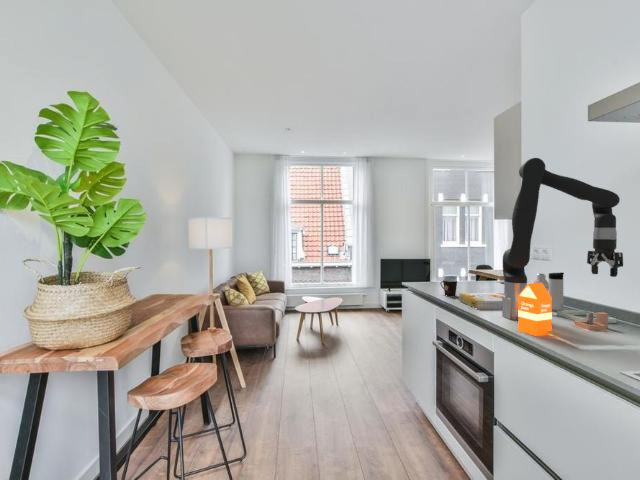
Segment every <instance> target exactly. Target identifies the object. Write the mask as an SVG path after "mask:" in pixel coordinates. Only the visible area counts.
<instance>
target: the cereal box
mask: <svg viewBox="0 0 640 480" xmlns="http://www.w3.org/2000/svg"><path fill="white" fill-rule="evenodd" d="M458 294H459V298H458V300H459V302H460V303H463V304H465V305H466V304H467V306H468V305H469V307H470V306H472V307H471V308H473V307H474V308H473V309H475V308H477V309H476V310H502V297H504V293H497V292H496V293H492V292H491V293H487V292H483V293H481V292H479V293H478V292H477V293H476V292H475V293H474V292H472V293H471V292H470V293H469V292H465V293H463V292H461V293H460V292H459V293H458Z"/></svg>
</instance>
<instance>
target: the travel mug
mask: <svg viewBox="0 0 640 480" xmlns="http://www.w3.org/2000/svg"><path fill="white" fill-rule="evenodd" d="M564 275H565V273H564V272H550V273H548V280H547V282H548V283H549V289H548V293H549V294H550V296H551V297H552V312H556V313H557V311H564Z"/></svg>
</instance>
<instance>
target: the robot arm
mask: <svg viewBox="0 0 640 480" xmlns="http://www.w3.org/2000/svg"><path fill="white" fill-rule="evenodd" d="M518 169H519V170H518V174H519V177H520V178H521V185H520V186H521V187H520V190H519V193H518V195H517V197H516V200H515V203H514V206H513V211H512V215H511V216H512V217H511V228H512V229H511V230H512V242H511V246H510V248H508V249H507V250H505V251H504V253H503V254H502V255H503V256H502V275H503V279H504V283H503V284H504V285H503V287H504V288H503V289H504V290H503V291H504V297H502V309H501V310H502V313H501V316H502V317H504V318H507V319H509V320H515V321H516V320H517V321H518V296H519V295H520V294H521V292H522V291H523V290H524V288H525V287H526V286H527V284H528V277H527V275H526V271H525V267H526V266H528V265H529V263H530V256H531V243H532V242H531V241H532V237H533V233H534V227H535V222H536V218H537V213H538V206H539V198H540V188H541V185H544V186H546V187H550V188H552V189H554V190H557V191H560V192H562V193H564V194H566V195H569V196H571V197H573V198H576V199H579V200H582V201H588V202H590V203H591V207H592V208H591V209H592V213H593V216H594V219H593V220H594V221H593V225H594V226H593V234H592V236H593V237H592V239H593V240H592V248H593V250H588V251H587V255H586V256H587V258H586V259H587V260H586V263H587V264H588V265H590V266H591V267H590V269H591V274H592V275H598V274H599V266H598V265H599V264H600V263H603V262H606V263H607V264H608V265H609V270H610V271H609V276H610V277H611V278H615V277H617V276H618V268H620V267H624V253H623V252H619V251H617V252H615V250H616V249H617V235H618V233H617V232H618V231H617V217H616V215H615V214H613V208H614V207H617V206H618V205H619V204H620V200H621V199H620V196H619V195H618V194H617V193H616V192H614V191H611V190H609V189H605V188H603V187H602V188H601V187H598V186H593V185H591V184H589V183H587V182H585V181H582V180H579V179H576V178H573V177H568V176H564V175H559V174H556V173H554V172H551V171H548V170H547V169H546V164H545V162H544V160H543V159H541V158H539V157H532V158H529V159H528V160H526V161H525V162H524V163H522V164H521V166H520V167H519V168H518Z"/></svg>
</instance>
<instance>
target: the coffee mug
mask: <svg viewBox="0 0 640 480" xmlns="http://www.w3.org/2000/svg"><path fill="white" fill-rule="evenodd" d="M442 283H443V285H442ZM457 284H458V280H455V279H443V280H442V281H440V286H441V288H442V289H443V291H444V296H445V295H447V296H446V297H449V296H455V297H456V294H457Z"/></svg>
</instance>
